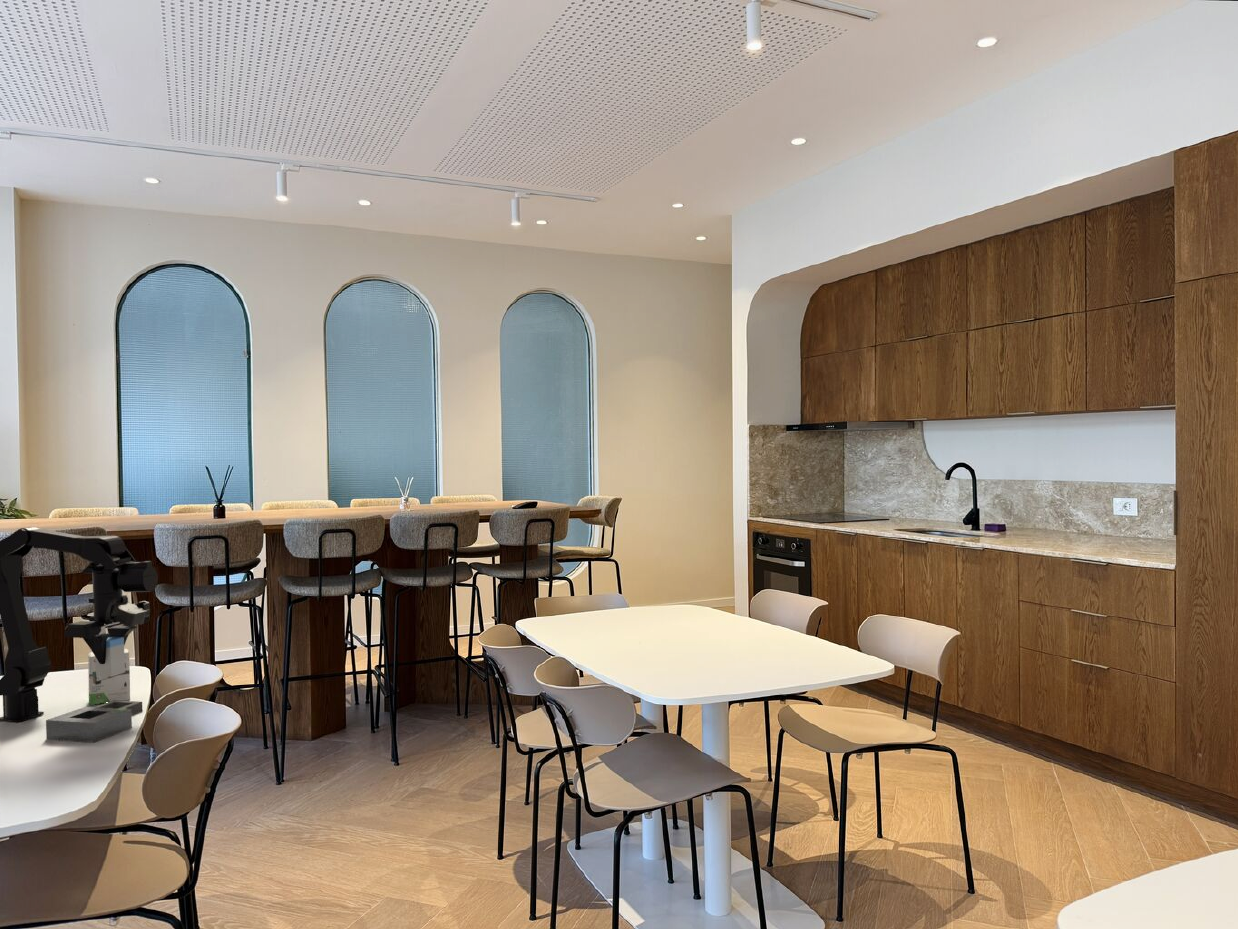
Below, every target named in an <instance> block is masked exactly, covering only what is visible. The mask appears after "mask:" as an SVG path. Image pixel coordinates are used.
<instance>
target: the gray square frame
mask: <svg viewBox="0 0 1238 929" xmlns="http://www.w3.org/2000/svg"><path fill="white" fill-rule="evenodd" d="M95 707H99V708H117V709H119V708H127V709H131V714H132V715H134V714H137V713H140V712H142V711H143V701H138V700H137V701H135V700H125V701H118V700H114V701H111V702H108V703H104V704H98V705H97V706H96V705H95Z"/></svg>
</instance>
